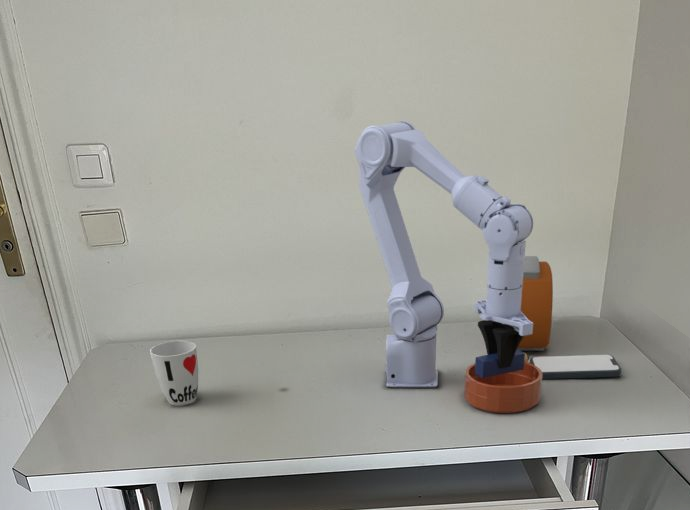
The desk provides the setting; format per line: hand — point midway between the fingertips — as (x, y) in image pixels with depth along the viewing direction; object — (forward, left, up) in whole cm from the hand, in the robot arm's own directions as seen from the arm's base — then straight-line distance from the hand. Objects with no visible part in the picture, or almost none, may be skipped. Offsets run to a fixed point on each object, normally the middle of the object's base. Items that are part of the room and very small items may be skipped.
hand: (499, 363), depth 126 cm
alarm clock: (+7, +33, -7) cm, 34 cm away
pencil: (0, 0, -1) cm, 1 cm away
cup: (-58, -1, -7) cm, 58 cm away
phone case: (+15, +14, -7) cm, 22 cm away
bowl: (+1, 0, -7) cm, 7 cm away
